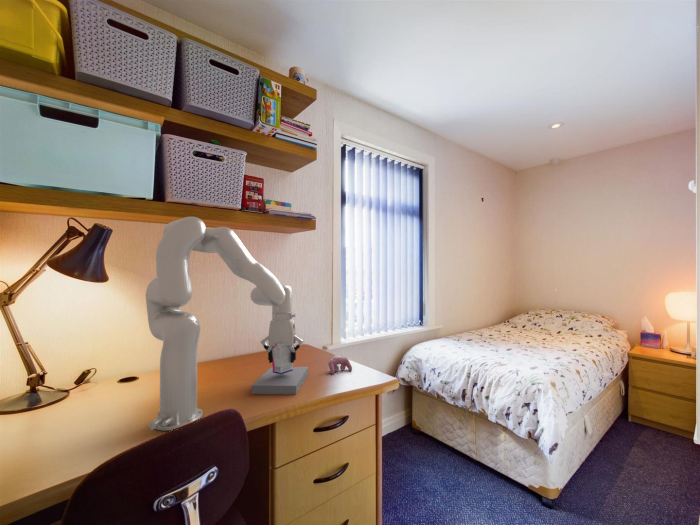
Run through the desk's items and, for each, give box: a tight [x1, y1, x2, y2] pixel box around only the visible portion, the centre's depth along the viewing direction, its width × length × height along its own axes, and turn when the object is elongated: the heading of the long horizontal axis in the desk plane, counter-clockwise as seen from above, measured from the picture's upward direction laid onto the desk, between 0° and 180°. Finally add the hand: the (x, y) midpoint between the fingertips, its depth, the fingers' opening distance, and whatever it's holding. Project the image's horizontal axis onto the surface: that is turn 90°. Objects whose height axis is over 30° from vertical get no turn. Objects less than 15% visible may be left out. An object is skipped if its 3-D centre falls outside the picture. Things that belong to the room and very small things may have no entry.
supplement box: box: [271, 343, 294, 374], centre depth 118 cm, size 6×6×12 cm
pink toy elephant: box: [327, 356, 353, 375], centre depth 132 cm, size 10×5×7 cm, turn 116°
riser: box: [251, 366, 309, 395], centre depth 118 cm, size 22×16×3 cm
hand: (282, 361), depth 118 cm, fingers closed on supplement box, 8 cm apart
